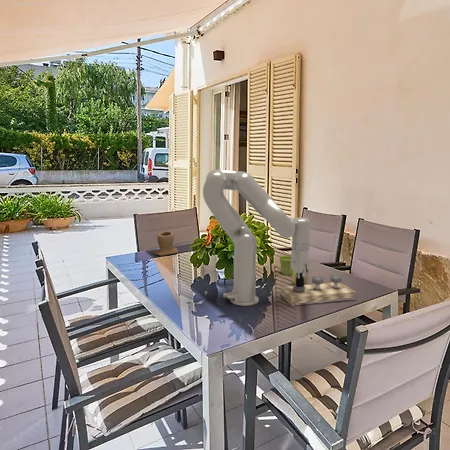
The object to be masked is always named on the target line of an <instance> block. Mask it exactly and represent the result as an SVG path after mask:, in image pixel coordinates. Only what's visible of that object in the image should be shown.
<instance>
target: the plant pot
mask: <svg viewBox="0 0 450 450" xmlns="http://www.w3.org/2000/svg"><path fill="white" fill-rule="evenodd" d="M278 259H279V263H280V272H281V274H283V275H285V276H290V275H293V269H291V255H281V256H279V257H278Z"/></svg>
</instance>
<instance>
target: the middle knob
mask: <svg viewBox="0 0 450 450" xmlns="http://www.w3.org/2000/svg"><path fill="white" fill-rule="evenodd" d="M311 283H312V284H315V290H316V291H318V290H320V284H323V283H325V278H324V277H323V276H319V275H318V276H312V277H311Z"/></svg>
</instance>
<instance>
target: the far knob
mask: <svg viewBox="0 0 450 450" xmlns="http://www.w3.org/2000/svg"><path fill="white" fill-rule="evenodd" d="M329 281H330V283H334V285H333V289H338V283H340V282H341V283H342V282H343V276H342V275H340V274H331V275H330V276H329Z"/></svg>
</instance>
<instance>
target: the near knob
mask: <svg viewBox="0 0 450 450" xmlns="http://www.w3.org/2000/svg"><path fill="white" fill-rule="evenodd" d="M292 286H293V291H294V292H298V293H301V292H305V286H303V287H297V286H296V285H293V284H292Z"/></svg>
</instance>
